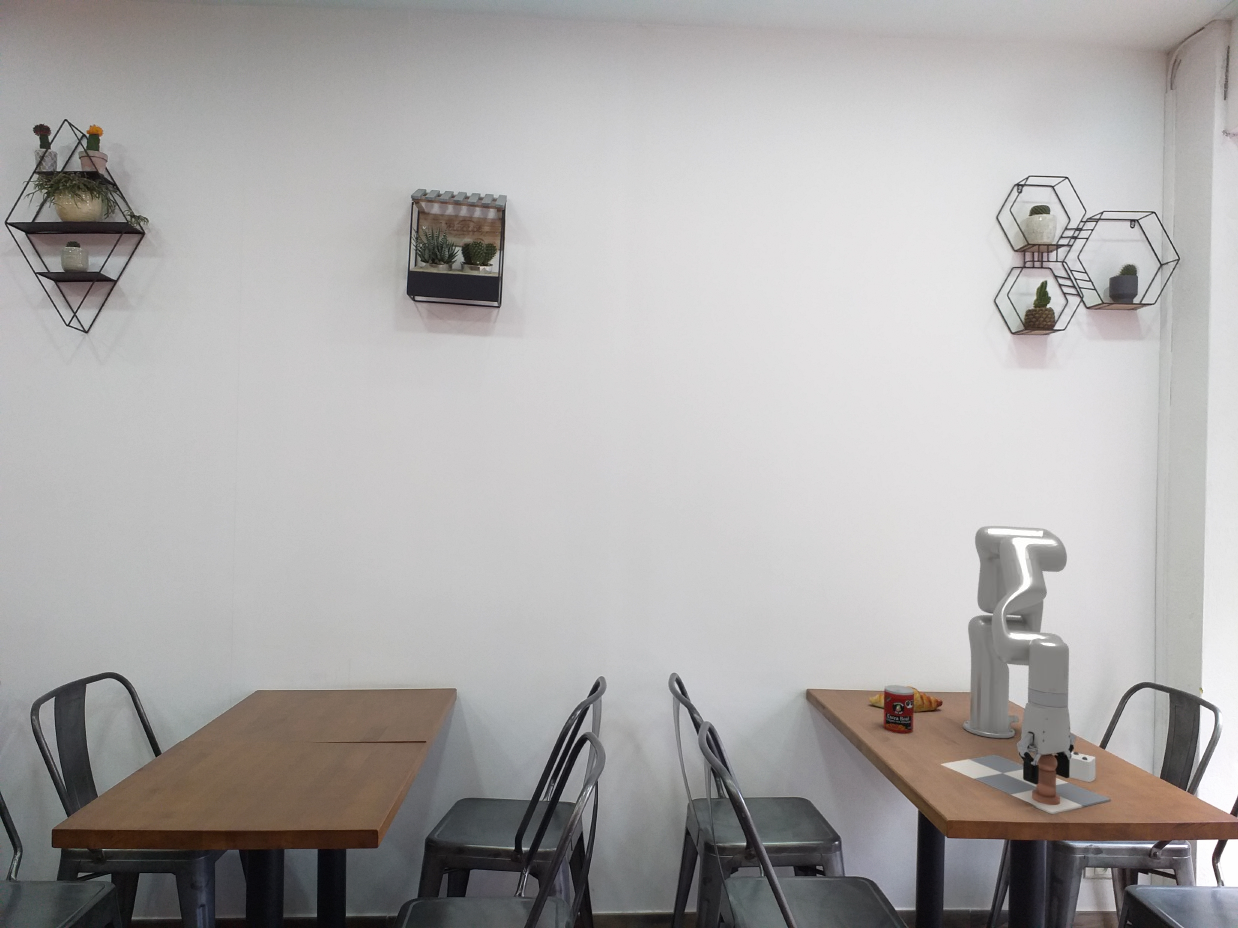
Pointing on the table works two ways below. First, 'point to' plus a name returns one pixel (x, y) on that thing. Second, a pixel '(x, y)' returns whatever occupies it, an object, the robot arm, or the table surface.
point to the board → (1023, 783)
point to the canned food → (898, 708)
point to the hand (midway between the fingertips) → (1046, 778)
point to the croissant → (920, 701)
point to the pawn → (1046, 781)
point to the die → (1082, 767)
